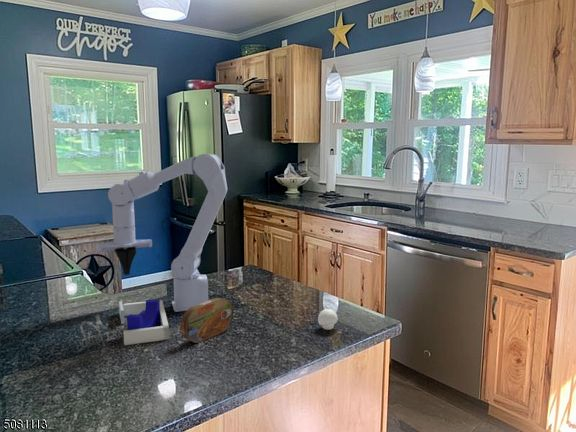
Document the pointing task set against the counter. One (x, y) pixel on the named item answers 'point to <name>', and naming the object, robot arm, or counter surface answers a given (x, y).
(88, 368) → the counter surface
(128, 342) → the bracket
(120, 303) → the gate
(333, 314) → the mushroom
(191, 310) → the tin
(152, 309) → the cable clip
